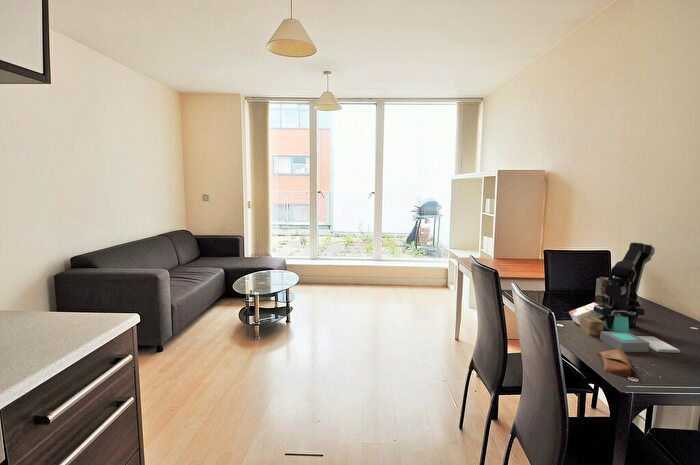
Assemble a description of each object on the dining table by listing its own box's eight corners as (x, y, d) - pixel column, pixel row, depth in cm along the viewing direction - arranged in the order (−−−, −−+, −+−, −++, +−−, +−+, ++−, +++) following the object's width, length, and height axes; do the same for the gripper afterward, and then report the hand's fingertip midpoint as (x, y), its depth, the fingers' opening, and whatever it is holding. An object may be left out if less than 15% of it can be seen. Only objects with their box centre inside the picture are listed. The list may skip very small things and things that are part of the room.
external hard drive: (657, 353, 139) (634, 339, 151) (679, 354, 139) (654, 340, 151) (658, 349, 139) (634, 335, 151) (680, 349, 139) (654, 336, 151)
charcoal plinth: (625, 340, 150) (626, 331, 149) (648, 352, 139) (649, 342, 138) (599, 340, 149) (600, 331, 149) (620, 352, 138) (621, 342, 138)
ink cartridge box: (568, 311, 171) (600, 299, 168) (572, 321, 170) (604, 309, 168) (575, 315, 162) (609, 303, 160) (580, 325, 162) (614, 313, 159)
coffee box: (618, 310, 186) (622, 280, 184) (613, 313, 182) (617, 281, 180) (598, 305, 193) (602, 276, 191) (593, 308, 189) (596, 277, 187)
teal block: (619, 329, 161) (618, 315, 161) (629, 331, 155) (628, 317, 155) (605, 328, 161) (604, 315, 162) (614, 331, 155) (613, 316, 156)
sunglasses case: (595, 351, 139) (608, 338, 136) (613, 363, 136) (626, 351, 134) (604, 372, 122) (618, 358, 120) (624, 387, 120) (639, 373, 118)
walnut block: (592, 329, 160) (594, 316, 159) (602, 335, 154) (604, 321, 153) (579, 329, 160) (580, 316, 159) (588, 335, 154) (590, 321, 153)
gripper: (627, 289, 164) (623, 322, 166) (586, 288, 164) (583, 322, 166) (647, 296, 153) (643, 331, 155) (604, 296, 153) (600, 331, 155)
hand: (616, 328), depth 158 cm, fingers closed on teal block, 6 cm apart
